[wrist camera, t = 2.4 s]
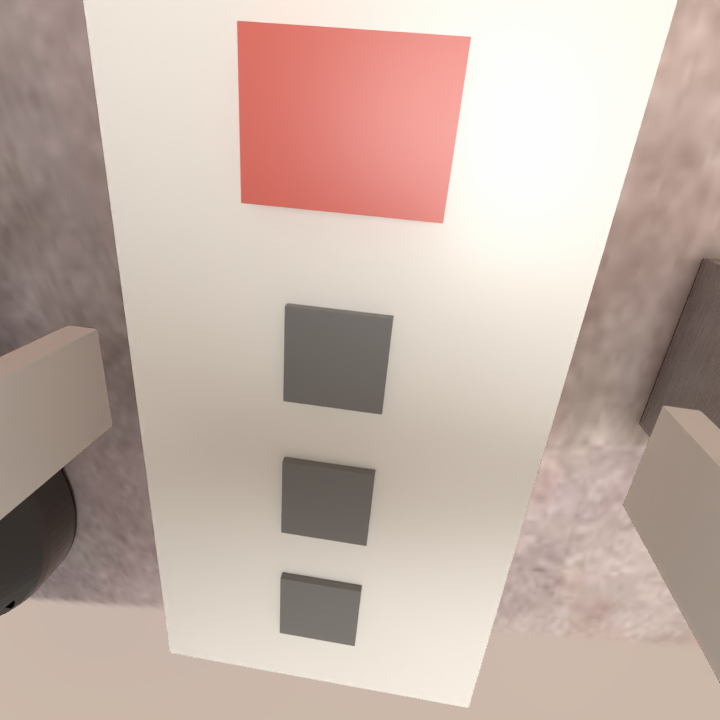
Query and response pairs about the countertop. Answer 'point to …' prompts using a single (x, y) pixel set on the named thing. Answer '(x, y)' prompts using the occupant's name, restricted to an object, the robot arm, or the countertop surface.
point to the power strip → (357, 303)
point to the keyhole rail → (692, 354)
